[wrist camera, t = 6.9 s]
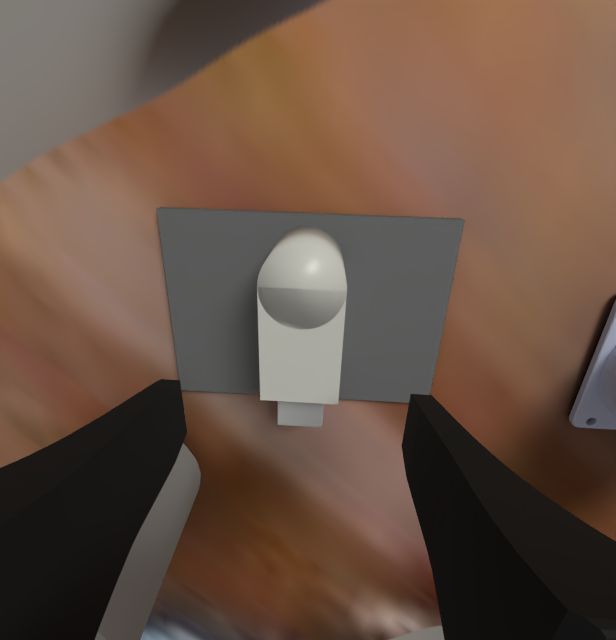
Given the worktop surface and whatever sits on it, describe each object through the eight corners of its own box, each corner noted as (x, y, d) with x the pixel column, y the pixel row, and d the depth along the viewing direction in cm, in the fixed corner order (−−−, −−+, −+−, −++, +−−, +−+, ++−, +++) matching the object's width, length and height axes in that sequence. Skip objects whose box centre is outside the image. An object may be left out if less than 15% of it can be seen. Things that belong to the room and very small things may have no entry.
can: (227, 454, 23) (137, 717, 12) (170, 515, 26) (55, 777, 15) (122, 392, 22) (-87, 629, 11) (73, 463, 24) (-136, 713, 13)
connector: (271, 224, 17) (255, 242, 13) (345, 226, 17) (350, 246, 13) (273, 392, 21) (261, 442, 17) (333, 395, 20) (334, 447, 17)
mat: (461, 218, 17) (464, 220, 16) (425, 398, 21) (428, 403, 20) (160, 207, 17) (156, 208, 17) (183, 385, 21) (180, 390, 21)
